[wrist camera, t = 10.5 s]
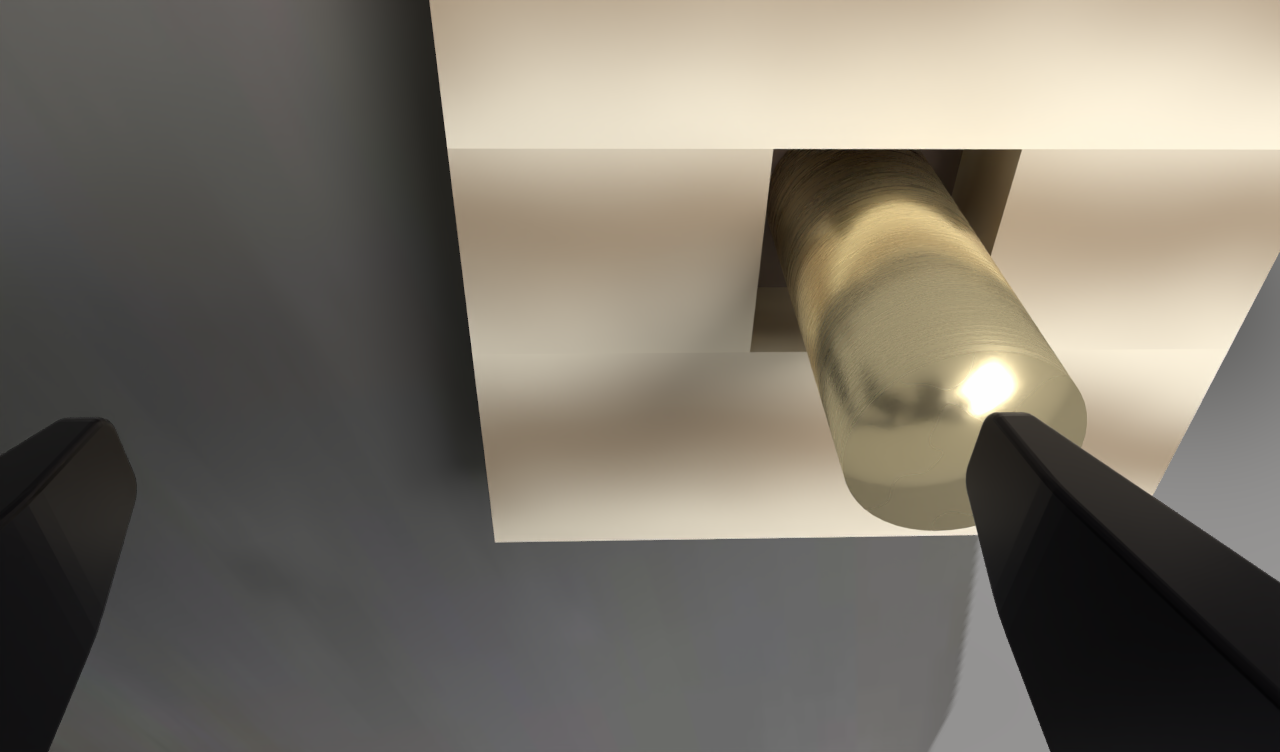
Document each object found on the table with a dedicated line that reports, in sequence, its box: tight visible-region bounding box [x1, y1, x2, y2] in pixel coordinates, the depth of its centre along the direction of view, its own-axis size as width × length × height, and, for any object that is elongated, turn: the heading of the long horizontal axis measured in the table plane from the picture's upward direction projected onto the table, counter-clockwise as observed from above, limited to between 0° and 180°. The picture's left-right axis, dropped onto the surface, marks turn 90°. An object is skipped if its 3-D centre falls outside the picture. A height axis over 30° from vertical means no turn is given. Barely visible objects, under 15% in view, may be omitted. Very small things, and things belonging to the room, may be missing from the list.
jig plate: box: [429, 0, 1280, 542], centre depth 19 cm, size 16×16×4 cm
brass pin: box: [766, 149, 1087, 531], centre depth 16 cm, size 4×4×8 cm
